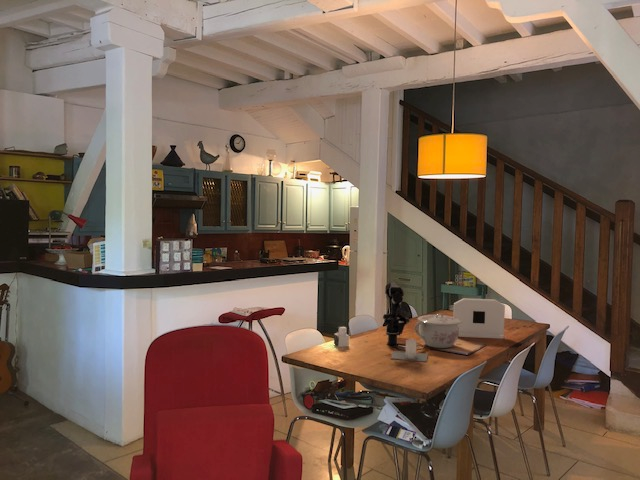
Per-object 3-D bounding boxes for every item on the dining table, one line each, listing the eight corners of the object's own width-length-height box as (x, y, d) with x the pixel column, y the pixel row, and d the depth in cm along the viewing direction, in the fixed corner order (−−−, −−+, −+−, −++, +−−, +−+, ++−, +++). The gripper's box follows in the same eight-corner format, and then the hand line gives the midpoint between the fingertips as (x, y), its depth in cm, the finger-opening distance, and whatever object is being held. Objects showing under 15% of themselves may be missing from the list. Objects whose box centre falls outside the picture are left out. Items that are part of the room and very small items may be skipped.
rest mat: (393, 351, 314) (393, 350, 314) (427, 354, 309) (427, 353, 309) (390, 359, 299) (390, 358, 299) (426, 362, 294) (426, 361, 294)
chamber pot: (461, 342, 341) (462, 310, 340) (460, 353, 314) (462, 319, 313) (417, 338, 348) (418, 307, 347) (413, 349, 322) (414, 315, 321)
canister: (403, 357, 300) (403, 340, 299) (409, 355, 304) (409, 338, 304) (412, 360, 296) (412, 342, 295) (418, 357, 300) (418, 340, 300)
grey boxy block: (495, 331, 378) (496, 294, 376) (503, 339, 353) (505, 300, 352) (448, 329, 381) (449, 292, 379) (453, 336, 357) (454, 298, 355)
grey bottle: (333, 344, 329) (334, 325, 328) (344, 343, 331) (344, 325, 331) (338, 347, 322) (338, 328, 321) (348, 346, 325) (349, 327, 324)
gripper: (397, 302, 305) (398, 329, 300) (416, 308, 318) (416, 333, 313) (382, 304, 312) (382, 331, 307) (400, 310, 325) (401, 335, 320)
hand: (396, 332), depth 312 cm, fingers open, 9 cm apart
